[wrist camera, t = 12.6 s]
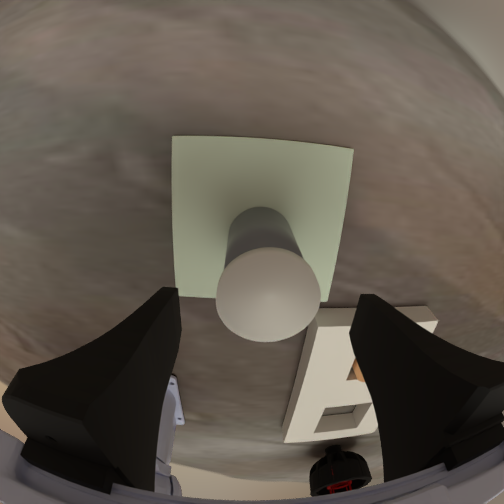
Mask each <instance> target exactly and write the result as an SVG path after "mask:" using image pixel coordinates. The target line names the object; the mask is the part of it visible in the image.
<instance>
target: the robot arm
mask: <svg viewBox="0 0 504 504" xmlns="http://www.w3.org/2000/svg"><path fill="white" fill-rule="evenodd" d="M181 331H182V328H181V317H180V305H179V293H178V288H172V287H162V288H161V289H160V290H159V291H157V292H156V293H155V294H154V295H153V296H152V297H151V298H150V299H148V300H147V301H146V302H145V303H144V304H143V305H142V306H141V307H139V308H138V309H137V310H136V311H135V312H134V313H132V314H131V315H130V316H128V317H127V318H126V319H125V320H123V321H122V322H121V323H119V324H118V325H117V326H115V327H114V328H113V329H111V330H110V331H108V332H107V333H105V334H104V335H102V336H100V337H99V338H97V339H95V340H94V341H92V342H90V343H88V344H86V345H84V346H82V347H80V348H78V349H76V350H74V351H72V352H70V353H68V354H65V355H63V356H61V357H58V358H55V359H53V360H50V361H47V362H44V363H40V364H37V365H33V366H30V367H26V368H22V369H19V370H18V372H17V373H16V375H15V377H14V378H13V380H12V381H11V383H10V385H9V386H8V388H7V390H6V391H5V393H4V395H3V396H2V403H3V406H4V408H5V410H6V411H7V413H8V414H9V416H10V417H11V418H12V419H13V421H14V422H15V423H16V424H17V426H18V427H19V428H20V429H21V430H22V431H23V433H24V434H25V435H26V436H27V437H28V438H27V440H26V442H25V444H24V443H23V442H21V441H20V440H19V439H17V438H15V437H13V436H12V435H10V434H8V433H6V432H4V431H2V430H1V429H0V502H1V503H3V504H486V503H488V502H489V501H491V500H492V499H493V498H495V497H496V496H498V495H499V494H500V493H502V492H503V491H504V427H503V425H502V424H501V422H503V421H504V416H503V414H502V411H503V410H504V362H500V361H495V360H491V359H488V358H485V357H482V356H479V355H476V354H473V353H471V352H468V351H466V350H464V349H461V348H459V347H457V346H455V345H453V344H450V343H449V342H447V341H445V340H443V339H441V338H439V337H437V336H436V335H434V334H432V333H431V332H429V331H428V330H426V329H425V328H423V327H421V326H420V325H418V324H417V323H415V322H414V321H412V320H411V319H410V318H408V317H407V316H405V315H404V314H403V313H401V312H400V311H398V310H397V309H396V308H394V307H393V306H391V305H390V304H389V303H387V302H386V301H384V300H383V299H381V298H380V297H378V296H376V295H375V294H361V295H360V298H359V302H358V305H357V308H356V312H355V315H354V318H353V322H352V325H351V328H350V331H349V336H350V341H351V345H352V349H353V352H354V355H355V358H356V360H357V363H358V365H359V368H360V371H361V373H362V375H363V378H364V380H365V383H366V385H367V388H368V391H369V393H370V396H371V399H372V402H373V406H374V410H375V414H376V418H377V423H378V428H379V434H380V440H381V447H382V456H383V469H384V483H381V484H377V485H373V486H369V487H365V488H360V489H356V490H351V491H346V492H340V493H335V494H328V495H322V496H314V497H306V498H296V499H283V500H266V501H265V500H261V501H235V500H213V499H201V498H190V497H182V490H181V486H180V484H179V482H178V480H177V478H176V477H175V476H173V475H170V473H171V466H169V463H170V460H171V455H172V448H173V442H174V436H175V430H176V424H179V425H183V424H185V419H184V414H183V410H182V405H181V399H180V394H179V389H178V383H177V378H176V377H175V376H173V375H171V373H172V370H173V367H174V363H175V360H176V357H177V353H178V349H179V343H180V337H181ZM172 382H173V383H172Z"/></svg>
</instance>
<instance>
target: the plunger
mask: <svg viewBox="0 0 504 504" xmlns="http://www.w3.org/2000/svg"><path fill="white" fill-rule="evenodd" d="M352 367H353V369H354V372H355V375H356V377H357V379H358V380H359V381H361V382H365V380H364V378H363V375H362V373H361V371H360V368H359V365H358V363H357V360H356V358H355V360H354V362H353V365H352Z"/></svg>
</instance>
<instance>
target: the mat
mask: <svg viewBox="0 0 504 504" xmlns="http://www.w3.org/2000/svg"><path fill="white" fill-rule="evenodd" d="M353 152H354V149H351V148H345V147H338V146H331V145H324V144H316V143H307V142H298V141H289V140H278V139H265V138H250V137H230V136H172V227H173V250H174V268H175V283H176V288H178V293H179V296H187V297H203V298H216V293H217V286H218V282H219V279H220V276H221V274H222V272H223V271H224V265H225V257H226V249H227V242H228V234H229V229H230V226H231V224H232V222H233V220H234V219H235V218H236V217H237V216H238V215H239V214H240V213H242V212H243V211H245V210H247V209H250V208H253V207H268V208H271V209H274V210H276V211H278V212H279V213H280V214H282V215H283V216H284V217H285V219H286V220H287V221H288V223H289V225H290V228H291V230H292V232H293V235H294V237H295V239H296V242H297V244H298V246H299V249H300V251H301V254H302V256H303V258H304V260H305V261H306V262H307V263H308V264H309V265H310V267H311V268H312V270H313V272H314V274H315V276H316V279H317V281H318V283H319V287H320V292H321V300H320V302H327V300H328V296H329V291H330V287H331V282H332V278H333V273H334V268H335V264H336V259H337V254H338V248H339V243H340V238H341V232H342V227H343V221H344V215H345V209H346V203H347V196H348V190H349V183H350V176H351V168H352V160H353Z"/></svg>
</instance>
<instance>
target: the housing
mask: <svg viewBox="0 0 504 504" xmlns="http://www.w3.org/2000/svg"><path fill="white" fill-rule="evenodd" d="M394 308H396V309H397V310H398V311H400V312H401V313H403V314H404V315H405V316H407V317H408V318H410V319H411V320H412V321H414V322H415V323H417V324H418V325H420V326H421V327H423V328H425V329H426V330H428V331H429V332H431V333H433V331H434V329H435V327H436V325H437V322H438V320H437V318H436V317H435V316H434V315H433V313H432V312H431V311H430V310H429V308H428V307H427V306H409V307H394ZM355 312H356V308H319V309H318V311H317V313H316V315H315V317H314V318H313V320H312V321H311V322H310V323H309V325H308V329H307V333H306V338H305V342H304V346H303V350H302V354H301V359H300V363H299V367H298V371H297V375H296V378H295V382H294V386H293V390H292V393H291V397H290V401H289V404H288V408H287V411H286V415H285V418H284V422H283V425H282V431H283V440H284V443H292V442H307V441H318V440H327V439H336V438H343V437H350V436H357V435H363V434H368V433H373V432H374V431H375V430H376V428H377V427H378V423H377V418H376V414H375V410H374V406H373V402H372V399H371V396H370V393H369V391H368V388H367V385H366V383H365V382H361V381H359V380H358V379H357V377H356V375H355V372H354V369H353V367H352V365H353V362H354V360H355V355H354V352H353V349H352V345H351V341H350V336H349V331H350V328H351V325H352V322H353V318H354V315H355ZM355 404H357V405H356V407H355V409H354V411H353V412H352V413H346V414H337V415H327V416H322V413H323V411H324V409H325V408H326V407H337V406H347V405H355Z"/></svg>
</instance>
